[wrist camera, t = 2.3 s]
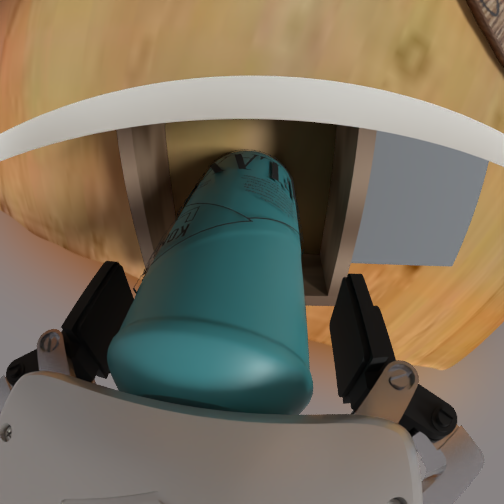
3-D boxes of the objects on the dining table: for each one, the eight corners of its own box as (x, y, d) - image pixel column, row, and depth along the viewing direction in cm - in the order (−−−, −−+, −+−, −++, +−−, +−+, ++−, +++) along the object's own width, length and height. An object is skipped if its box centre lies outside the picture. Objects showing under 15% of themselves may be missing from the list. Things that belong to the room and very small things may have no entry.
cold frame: (149, 90, 15) (-44, 159, 3) (353, 90, 15) (537, 153, 3) (172, 257, 24) (108, 411, 12) (328, 264, 23) (357, 435, 11)
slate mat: (365, 114, 16) (370, 116, 15) (484, 147, 15) (490, 150, 14) (341, 255, 23) (344, 262, 22) (447, 260, 22) (451, 266, 21)
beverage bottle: (309, 164, 18) (388, 539, 2) (269, 235, 22) (252, 528, 6) (223, 127, 17) (1, 491, 1) (194, 205, 21) (77, 488, 5)
